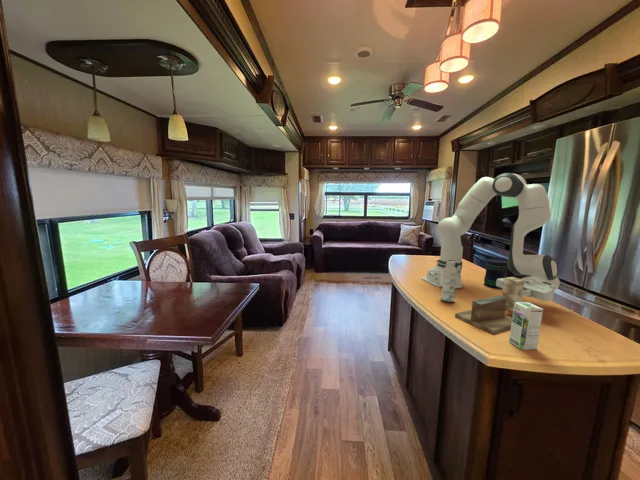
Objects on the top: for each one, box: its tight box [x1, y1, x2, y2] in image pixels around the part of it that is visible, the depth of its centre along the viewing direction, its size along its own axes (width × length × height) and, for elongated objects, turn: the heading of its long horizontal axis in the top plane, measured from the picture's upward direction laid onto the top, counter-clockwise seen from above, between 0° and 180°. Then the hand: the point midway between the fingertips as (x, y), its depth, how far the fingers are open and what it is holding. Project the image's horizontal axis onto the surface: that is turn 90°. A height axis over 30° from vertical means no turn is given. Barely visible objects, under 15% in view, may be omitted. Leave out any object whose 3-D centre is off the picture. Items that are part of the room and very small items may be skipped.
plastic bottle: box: [440, 260, 457, 303], centre depth 130 cm, size 6×7×20 cm
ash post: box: [501, 276, 525, 312], centre depth 115 cm, size 5×5×13 cm
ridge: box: [454, 295, 512, 335], centre depth 110 cm, size 16×18×9 cm
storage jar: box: [483, 258, 508, 290], centre depth 154 cm, size 10×10×15 cm
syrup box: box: [508, 301, 544, 351], centre depth 91 cm, size 6×6×14 cm
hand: (511, 290), depth 115 cm, fingers closed on ash post, 5 cm apart
